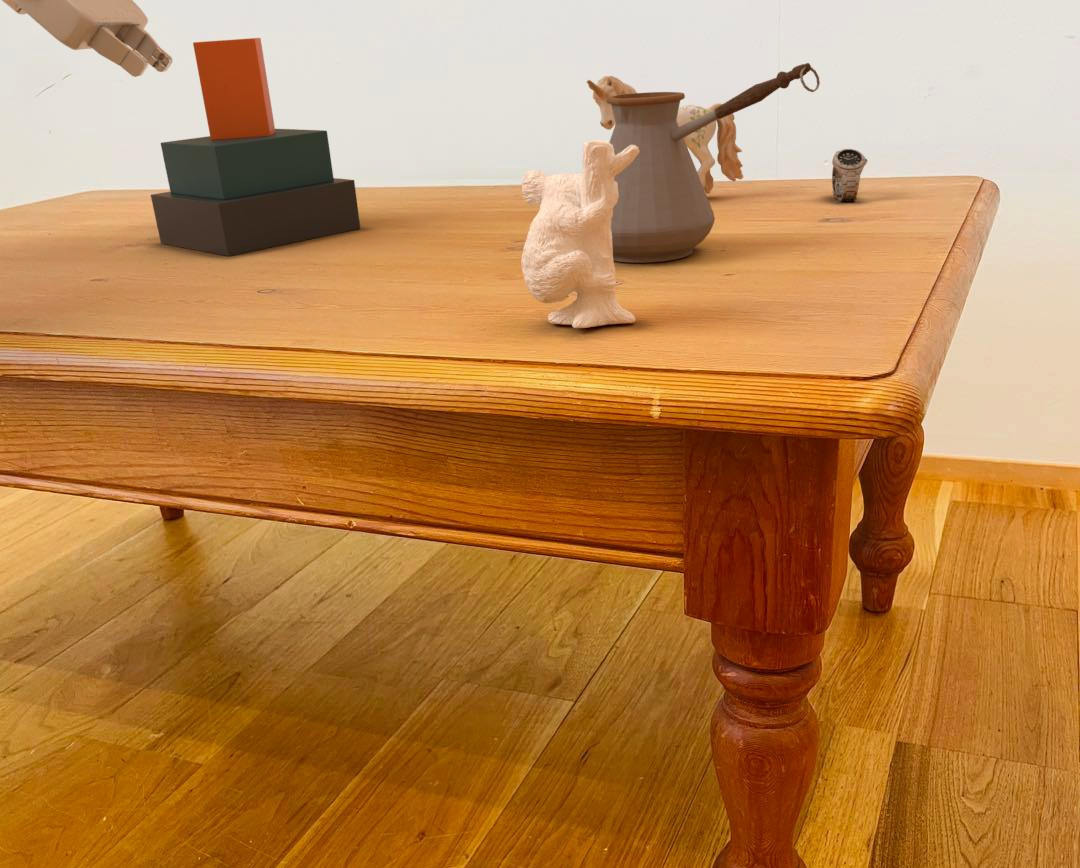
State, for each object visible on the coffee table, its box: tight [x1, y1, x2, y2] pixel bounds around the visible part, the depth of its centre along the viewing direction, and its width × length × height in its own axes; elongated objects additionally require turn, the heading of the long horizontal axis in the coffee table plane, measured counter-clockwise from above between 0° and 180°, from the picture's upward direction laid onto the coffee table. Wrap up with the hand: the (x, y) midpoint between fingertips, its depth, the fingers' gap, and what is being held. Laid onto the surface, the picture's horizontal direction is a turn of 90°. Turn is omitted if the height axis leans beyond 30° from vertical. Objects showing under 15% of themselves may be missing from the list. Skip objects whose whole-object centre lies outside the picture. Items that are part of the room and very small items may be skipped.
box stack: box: [150, 128, 361, 257], centre depth 112 cm, size 16×14×10 cm
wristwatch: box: [831, 148, 868, 203], centre depth 112 cm, size 4×6×5 cm, turn 178°
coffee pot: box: [607, 62, 821, 263], centre depth 87 cm, size 21×12×15 cm, turn 47°
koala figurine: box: [520, 139, 639, 329], centre depth 71 cm, size 8×7×12 cm
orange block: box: [192, 37, 276, 140], centre depth 108 cm, size 6×4×9 cm, turn 94°
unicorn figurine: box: [586, 75, 744, 195], centre depth 114 cm, size 7×20×13 cm, turn 117°
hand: (156, 68), depth 107 cm, fingers open, 8 cm apart
